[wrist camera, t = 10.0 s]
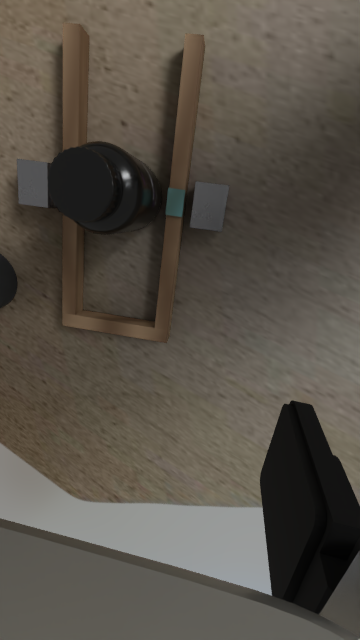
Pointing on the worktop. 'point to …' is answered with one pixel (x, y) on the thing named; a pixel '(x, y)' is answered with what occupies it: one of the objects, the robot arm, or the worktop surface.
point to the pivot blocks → (36, 193)
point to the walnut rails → (176, 198)
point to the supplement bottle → (104, 188)
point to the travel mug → (7, 281)
